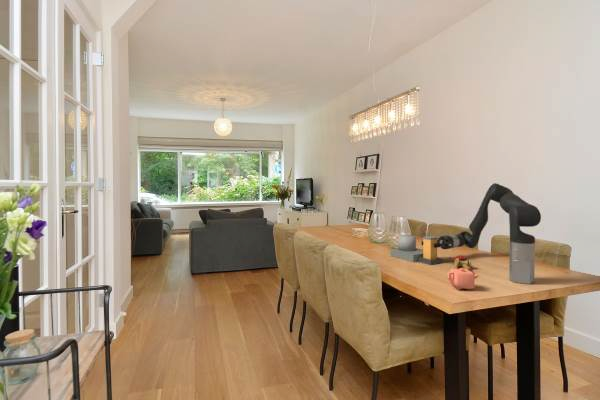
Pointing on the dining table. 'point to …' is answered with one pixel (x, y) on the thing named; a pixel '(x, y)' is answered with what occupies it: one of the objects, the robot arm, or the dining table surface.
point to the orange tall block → (429, 247)
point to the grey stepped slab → (411, 251)
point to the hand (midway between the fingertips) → (427, 244)
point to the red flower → (462, 262)
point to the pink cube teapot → (462, 278)
